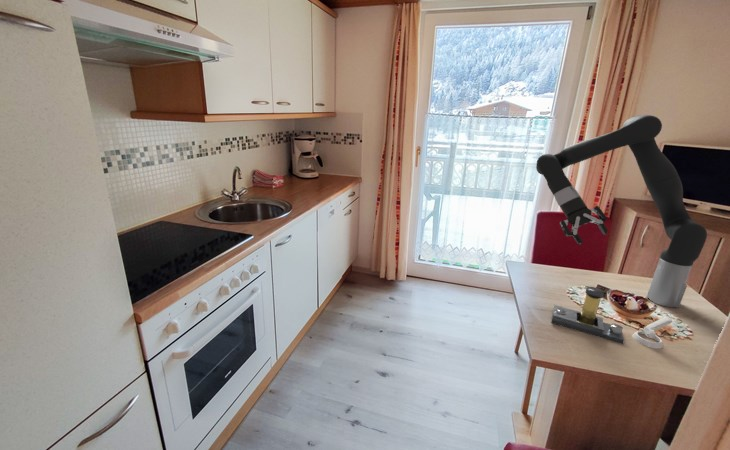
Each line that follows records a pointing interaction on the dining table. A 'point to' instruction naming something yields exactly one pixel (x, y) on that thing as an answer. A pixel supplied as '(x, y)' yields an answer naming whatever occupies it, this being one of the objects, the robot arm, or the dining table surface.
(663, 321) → the white vr controller
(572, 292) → the dining table surface
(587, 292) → the pin
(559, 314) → the grey plate with studs
